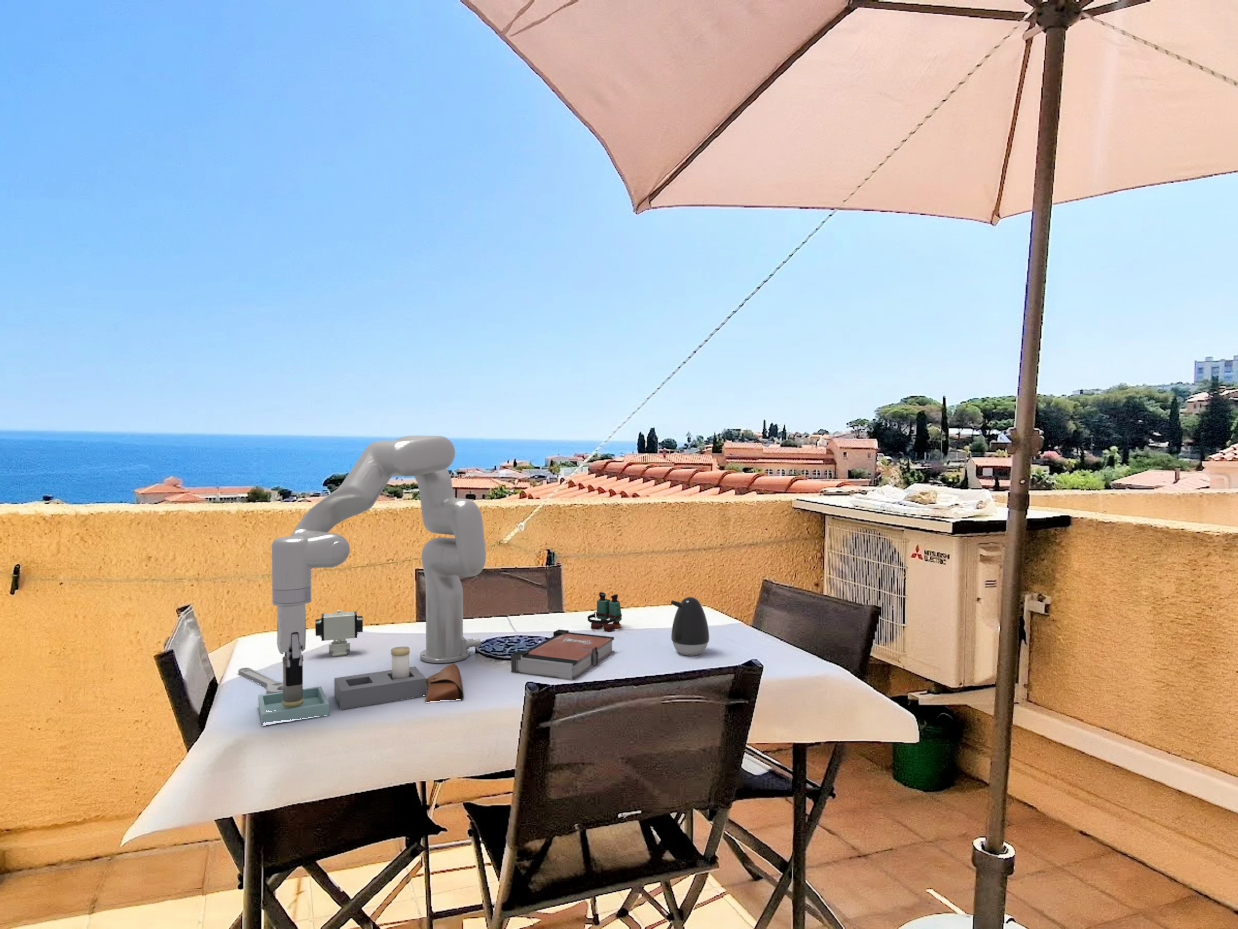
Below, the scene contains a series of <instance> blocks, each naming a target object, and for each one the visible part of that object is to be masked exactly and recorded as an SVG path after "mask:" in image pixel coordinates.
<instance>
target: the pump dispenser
mask: <svg viewBox="0 0 1238 929" xmlns="http://www.w3.org/2000/svg"><path fill="white" fill-rule="evenodd" d="M670 604H671V605H673V606H675V607H677V610H675V611H676V612H675V615H674V618H673V622H672V626H671V634H670V636H671V638H670V639H671V641H672V645H673V648H674V649H675V650H676V652H678V653H679V654H681V655H684V656H690V657H692V656H693V657H694V656H699V655H701V654H702V653H703V652H705V650H706V649H707V647H708V643H709V642H710V631H709V625H708V620H707V617H706V616H707V615H706V613H705V610H704V609H703V608H704V607H703V606H702V603H701V602H700V601H699V599H697V598H695V597H693V596H687V597H684V598H683V599H682V601H681V602H679V601H676V600H674V599H671V601H670Z"/></svg>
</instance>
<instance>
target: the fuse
mask: <svg viewBox="0 0 1238 929" xmlns="http://www.w3.org/2000/svg"><path fill="white" fill-rule="evenodd" d="M410 653H411V648H410V647H408V646H396V647H393V648H391V650H390V654H391V670H392V680H395V679H402V678H408V677H409V667H410Z"/></svg>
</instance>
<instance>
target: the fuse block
mask: <svg viewBox="0 0 1238 929" xmlns="http://www.w3.org/2000/svg"><path fill="white" fill-rule="evenodd" d="M426 678H427V677H426V676H425V675H424V674H423V673H422V671H420V670H419V668H417V666H409V677H408V678H402V679H395V680H392V669H390V670H389V669H387V670H382V671H375V672H368V673H361V674H354V675H347V676H346V675H345V676H341V677H334V678H333V679H334V680H333V682H334V683H333V685H334V688H333V689H334V694H333V695H334V698H335V700H336V701H337V704H338V706H339V709H340V710H341V709H344V710H348V709H347V708H350V709H353V707H356V708H361V707H360V706H362V707H367V706H366V705H368V706H373V705H372V704H375V705H380V703H381V704H386V702H387V703H393V702H396V701H395V700H399V701H402V700H401V699H405V700H408V699H407V698H411V699H413V698H412V697H417V698H419V697H418V696H423V695H426V693H427V684H426ZM423 697H424V696H423ZM392 701H393V702H392Z"/></svg>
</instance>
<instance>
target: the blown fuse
mask: <svg viewBox="0 0 1238 929" xmlns="http://www.w3.org/2000/svg"><path fill="white" fill-rule="evenodd" d="M291 656H292V655H290V657H291ZM301 657H302V665H303V666H304V664H303V662H304V655H303V654H301ZM286 667H287V656H285V655H284V656H282V682H283V700H282V705H283V706H284V707H296V706H300V705H302V704H303V689H304V686H303V685H304V682H303V683H302V684H301V685H295V686H286Z"/></svg>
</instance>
